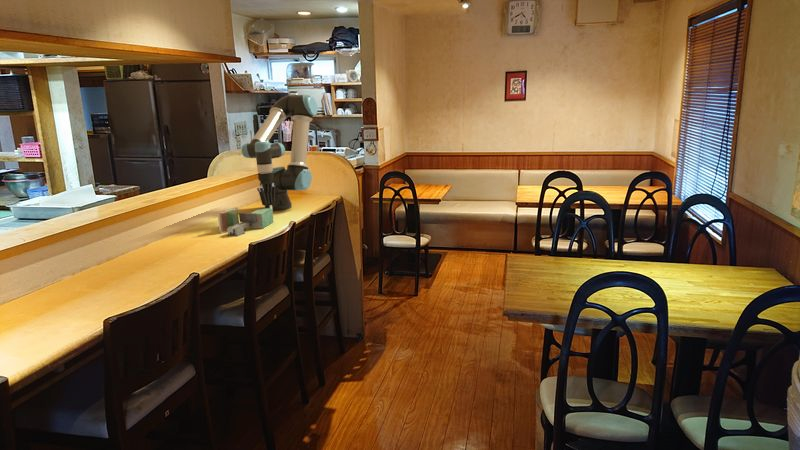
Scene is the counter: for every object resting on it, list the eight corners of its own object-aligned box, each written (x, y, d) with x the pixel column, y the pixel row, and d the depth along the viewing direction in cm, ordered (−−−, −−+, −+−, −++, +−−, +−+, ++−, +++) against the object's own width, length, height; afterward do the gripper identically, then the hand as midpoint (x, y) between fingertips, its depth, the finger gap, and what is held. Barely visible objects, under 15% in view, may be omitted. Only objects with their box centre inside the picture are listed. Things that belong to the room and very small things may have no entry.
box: (274, 221, 270) (272, 207, 269) (263, 228, 258) (261, 213, 256) (260, 221, 272) (258, 207, 270) (249, 228, 259) (247, 214, 257)
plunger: (237, 224, 261) (236, 212, 260) (257, 225, 257) (255, 213, 255) (218, 231, 249) (217, 218, 248) (238, 233, 245) (236, 220, 243)
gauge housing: (238, 226, 264) (235, 207, 262) (257, 228, 259) (255, 208, 257) (217, 234, 251) (214, 214, 248) (237, 236, 246) (234, 215, 243)
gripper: (267, 170, 274) (271, 214, 280) (251, 174, 263) (256, 220, 268) (279, 170, 271) (283, 215, 277) (263, 174, 260) (268, 221, 266)
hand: (270, 217), depth 273 cm, fingers closed
